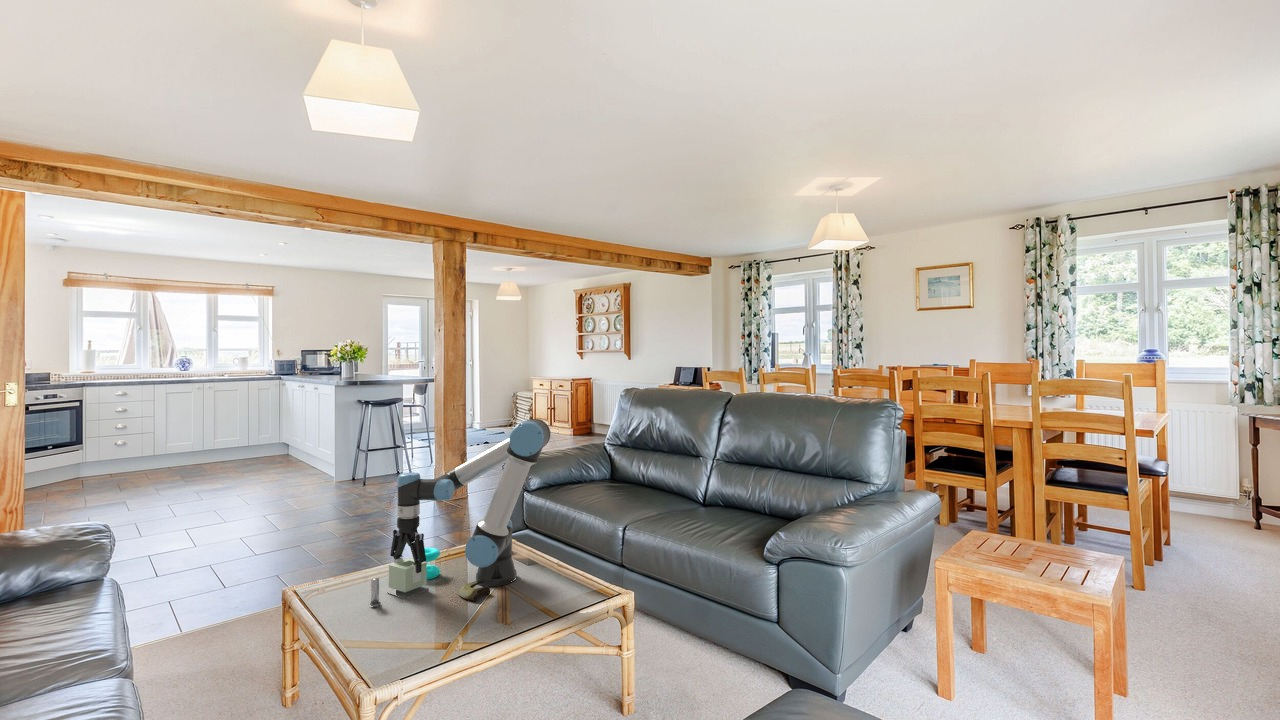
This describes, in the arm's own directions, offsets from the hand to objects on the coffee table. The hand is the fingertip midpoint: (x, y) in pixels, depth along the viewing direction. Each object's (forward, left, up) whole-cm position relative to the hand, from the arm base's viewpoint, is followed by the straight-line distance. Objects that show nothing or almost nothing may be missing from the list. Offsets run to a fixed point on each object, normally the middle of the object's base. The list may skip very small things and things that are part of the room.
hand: (407, 579), depth 210 cm
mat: (0, 0, -5) cm, 5 cm away
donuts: (+7, -14, -5) cm, 16 cm away
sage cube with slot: (0, 0, -2) cm, 2 cm away
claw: (-21, -12, -5) cm, 25 cm away
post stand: (-1, +14, -5) cm, 15 cm away
